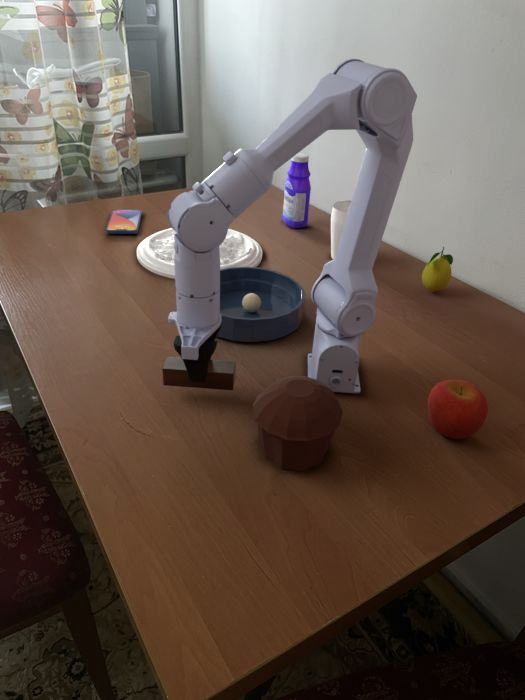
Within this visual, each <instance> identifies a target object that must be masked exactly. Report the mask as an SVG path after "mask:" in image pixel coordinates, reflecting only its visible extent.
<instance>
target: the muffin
mask: <svg viewBox="0 0 525 700" xmlns="http://www.w3.org/2000/svg"><path fill="white" fill-rule="evenodd" d="M251 409H252V414H253V417H254V421H255V422H256V423H257V428H258V435H259V444H260V446H261V448H262V450H263V454H264V459H265V460H267V461H269V462H270V463H273V464H274V465H275V466H276V467H278V468H279V469H280V470H293V471H299V472H305V471H307V470H309V469H310V468H312V467H316V466H319V465H321V464H322V461H323V458H324V457H325V455H326V453H327V451H328V449H329V446H330V444H331V442H332V439H333V437H334V434H335V431H336V430H337V429H338V428H339V426H340V425H341V422H342V418H343V414H344V410H343V408H342V405H341V403H340V401H339V399H338V398H337V396H336V394H335V392H333V391H332V390H331V389H330V388H329V387H327V386H326V385H325V384H324V383H323V382H321V381H319V380H316V379H313V378H310V377H308V375H306V376H305V375H292V376H288V377H283V378H280V379H277V380H275V381H274V382H273V383H271V384H270V385H268V386H267V387H266V388H264V389H263V390H262V391H261V392H259V393H258V394H257V396H256V398H255V400H254V402H253V404H252V406H251Z"/></svg>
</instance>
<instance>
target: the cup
mask: <svg viewBox="0 0 525 700" xmlns="http://www.w3.org/2000/svg"><path fill="white" fill-rule="evenodd" d="M350 204H351V200H350V199H349V200H347V199H346V200H338V201H335V202H334V203H333V205H332V210H331V215H330V257H331V259H332V260H334V259H335V257H336V254H337V250H338V247H339V243H340V239H341V236H342V232H343V229H344V225H345V222H346V218H347V215H348V211H349V207H350Z"/></svg>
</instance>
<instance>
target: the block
mask: <svg viewBox="0 0 525 700" xmlns="http://www.w3.org/2000/svg"><path fill="white" fill-rule="evenodd" d="M236 365H237V362H236V361H233V360H232V361H231V360H221V359H219V360H218V359H211V360H209V365H208V371H207V376H206V379H205V382H194V381H190V379H189V376H188V373H187V370H186V367H185V364H184V362H183V360H182V358H181V356H165V361H164V362H163V366H162V383H163V386H166V387H167V386H168V387H179V388H194V389H208V390H219V391H234V389H235V383H236V371H237V370H236V368H237V367H236Z"/></svg>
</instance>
